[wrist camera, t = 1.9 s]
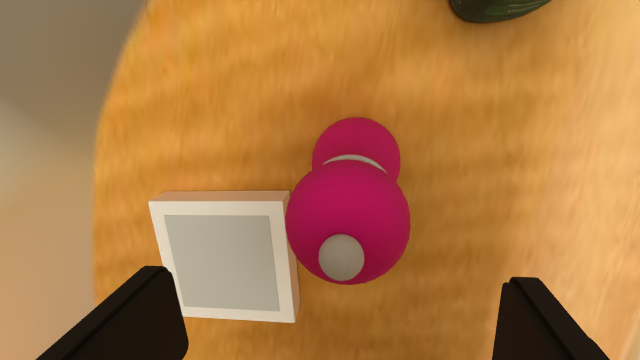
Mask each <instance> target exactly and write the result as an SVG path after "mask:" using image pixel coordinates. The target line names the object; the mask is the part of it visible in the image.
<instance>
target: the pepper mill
mask: <svg viewBox="0 0 640 360" xmlns="http://www.w3.org/2000/svg"><path fill="white" fill-rule="evenodd" d="M312 169H313V170H312V171H311V172H309V173H308V174H307V175H306V176H304V177H303V178H302V179H301V181H300V182H299V183H298V184H297V186H296V187H295V189H294V191H293V193H292V194H291V197H290V199H289V202H288V204H287V209H286V215H285V229H286V233H287V238H288V242H289V244H290V247H291V249H292V251H293V252H294V254H295V256H296V257H297V259H298V260H299V261H300V262H301V263H302V265H303V266H304V267H305V268H306V269H308V270H309V271H310V272H311V273H312V274H314V275H316V276H318V277H320V278H322V279H324V280H326V281H329V282H333V283H336V284H346V285H353V284H360V283H366V282H368V281H371V280H374V279H376V278H378V277H379V276H381V275H383V274H385V273H386V272H387V271H389V270H390V269H391V268H392V267H393V266H394V265H395V264H396V262H397V261H398V260H399V259H400V257H401V256H402V254H403V252H404V250H405V248H406V245H407V242H408V240H409V234H410V212H409V207H408V203H407V201H406V199H405V197H404V195H403V193H402V191H401V189H400V187H399V186H398V184H397V183H396V181H397V178H398V176H399V172H400V152H399V148H398V145H397V143H396V141H395V139H394V137H393V136H392V135H391V133H390V132H389V131H388V130H387V129H386V128H385V127H383V126H382V125H381V124H379V123H377V122H375V121H373V120H370V119H366V118H347V119H344V120H341V121H338V122H336V123H334V124H333V125H331V126H330V127H328V128H327V129H326V130H325V131H324V132H323V134H322V135H321V136H320V138H319V139H318V141H317V143H316V146H315V149H314V152H313V157H312Z"/></svg>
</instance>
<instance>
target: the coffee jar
mask: <svg viewBox="0 0 640 360" xmlns="http://www.w3.org/2000/svg"><path fill="white" fill-rule="evenodd" d="M550 1H551V0H450V2H451V5H452V7H453V9H454V10H455V12H456V13H457V14H458V15H459V16H460V17H462V18H463V19H465V20H467V21H470V22H477V23H487V22H497V21H504V20H509V19H513V18H517V17H520V16H523V15H525V14H528V13H530V12H532V11H534V10H536V9H538V8H540V7H542V6H543V5H545V4H547V3H548V2H550Z"/></svg>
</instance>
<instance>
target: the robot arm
mask: <svg viewBox="0 0 640 360" xmlns="http://www.w3.org/2000/svg"><path fill="white" fill-rule="evenodd" d="M188 344H189V342H188V337H187V332H186V328H185V324H184V320H183V316H182V312H181V307H180V303H179V299H178V295H177V291H176V287H175V282H174V278H173V275H172V273H171V272H169V271H168V269H167V268H166V267H164V266H144V267H143V268H141V269H140V270H139V271H138V272H136V273H135V274H134V275H133V276H132V277H131V278H129V279H128V280H127V281H126V282H125V283H124V284H123V285H121V286H120V287H119V288H118V289H117V290H116V291H114V292H113V293H112V294H111V295H110V296H109V297H108V298H106V299H105V300H104V301H103V302H102V303H101V304H99V305H98V306H97V307H96V308H95V309H94V310H92V311H91V312H90V313H89V314H88V315H87V316H86V317H85V318H83V319H82V320H81V321H80V322H79V323H77V325H75V326H74V327H73V328H72V329H71V330H69V331H68V332H67V333H66V334H65V335H64V336H62V337H61V338H60V339H59V340H58V341H57V342H56V343H54V344H53V345H52V346H51V347H50V348H49V349H47V350H46V351H45V352H44V353H43V354H42V355H40V356H39V357H38V358H37V359H36V360H182V359H183V358H184V356H185V354H186V353H187V350H188ZM492 360H610V359H609V358H608V357H607V356H606V355H605V353H604V352H603V351H602V350H601V349H600V347H599V346H598V345H597V344H596V343H595V342H594V341H593V340H592V339H591V338H589V337H588V336H587V335H586V334H585V333H584V331H583V330H582V329H581V328H580V327H579V325H578V324H577V323H576V322H575V321H574V319H573V318H572V317H571V316H570V315H569V313H568V312H567V311H566V310H565V309H564V307H563V306H562V305H561V304H560V303H559V301H558V300H557V299H556V298H555V297H554V295H553V294H552V293H551V292H550V291H549V290H548V288H547V287H546V286H545V285H544V284H543V282H542V281H541V280H540V279H539V278H534V277H512V278H511V279H510V281H509V283H508V282H505V283H504V284H503V286H502V291H501V299H500V306H499V313H498V320H497V327H496V334H495V341H494V348H493V356H492Z"/></svg>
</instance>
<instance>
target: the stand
mask: <svg viewBox="0 0 640 360" xmlns="http://www.w3.org/2000/svg"><path fill="white" fill-rule="evenodd" d="M289 199H290V190H285V191H166V192H164V193H162V194H160V195H158V196H157V197H155V198H153V199H151V200H150V201H148V204H149V208H150V212H151V217H152V221H153V225H154V229H155V234H156V238H157V242H158V246H159V250H160V255H161V259H162V263H163V266H164V267H166V268H167V269H168V271H169V272H171V273H172V275H173V278H174V282H175V287H176V291H177V295H178V299H179V303H180V307H181V312H182V316H187V317H204V318H220V319H237V320H254V321H271V322H288V323H295V320H296V317H297V314H298V310H299V307H300V294H299V283H298V273H297V262H296V256H295V254H294V252H293V251H292V249H291V247H290V244H289V242H288V238H287V233H286V229H285V215H286V209H287V204H288V202H289Z"/></svg>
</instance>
